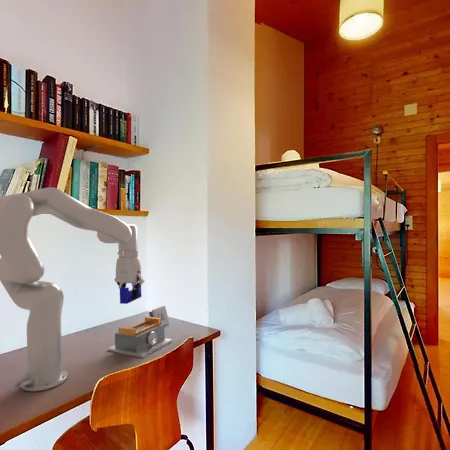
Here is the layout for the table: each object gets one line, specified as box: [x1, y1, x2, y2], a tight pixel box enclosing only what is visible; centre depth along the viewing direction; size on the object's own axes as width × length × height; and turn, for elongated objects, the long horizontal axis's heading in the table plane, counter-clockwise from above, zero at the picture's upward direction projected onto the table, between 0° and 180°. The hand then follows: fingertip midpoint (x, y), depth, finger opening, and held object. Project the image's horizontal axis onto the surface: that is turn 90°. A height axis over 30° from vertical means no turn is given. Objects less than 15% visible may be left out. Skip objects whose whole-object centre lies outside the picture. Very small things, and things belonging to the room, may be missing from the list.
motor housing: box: [107, 316, 173, 359], centre depth 128 cm, size 18×18×10 cm
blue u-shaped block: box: [119, 283, 142, 305], centre depth 129 cm, size 12×4×6 cm, turn 168°
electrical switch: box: [148, 305, 170, 327], centre depth 155 cm, size 9×5×9 cm, turn 152°
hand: (129, 298), depth 129 cm, fingers closed on blue u-shaped block, 5 cm apart
